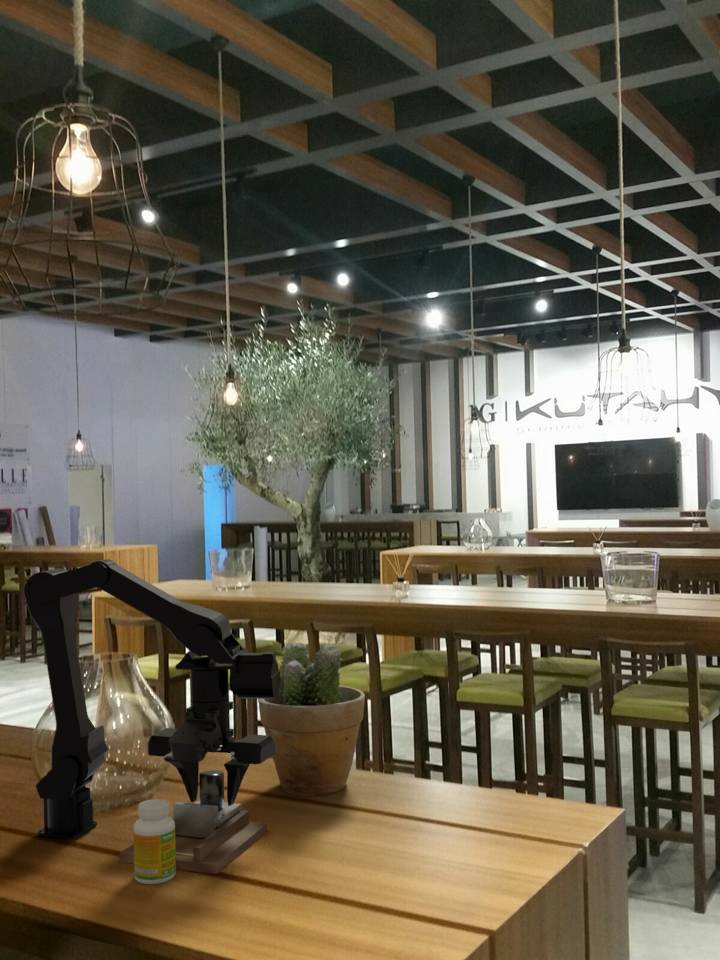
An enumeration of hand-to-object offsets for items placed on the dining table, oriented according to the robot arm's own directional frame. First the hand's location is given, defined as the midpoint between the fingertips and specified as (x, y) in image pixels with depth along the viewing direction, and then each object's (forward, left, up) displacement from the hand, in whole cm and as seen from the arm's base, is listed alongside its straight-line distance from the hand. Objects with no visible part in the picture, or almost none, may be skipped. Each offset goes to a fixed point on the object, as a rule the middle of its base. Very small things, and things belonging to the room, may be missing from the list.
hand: (212, 803), depth 141 cm
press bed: (0, -5, -4) cm, 7 cm away
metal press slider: (0, -1, -3) cm, 3 cm away
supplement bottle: (0, -16, -5) cm, 17 cm away
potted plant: (+6, +25, -5) cm, 26 cm away
